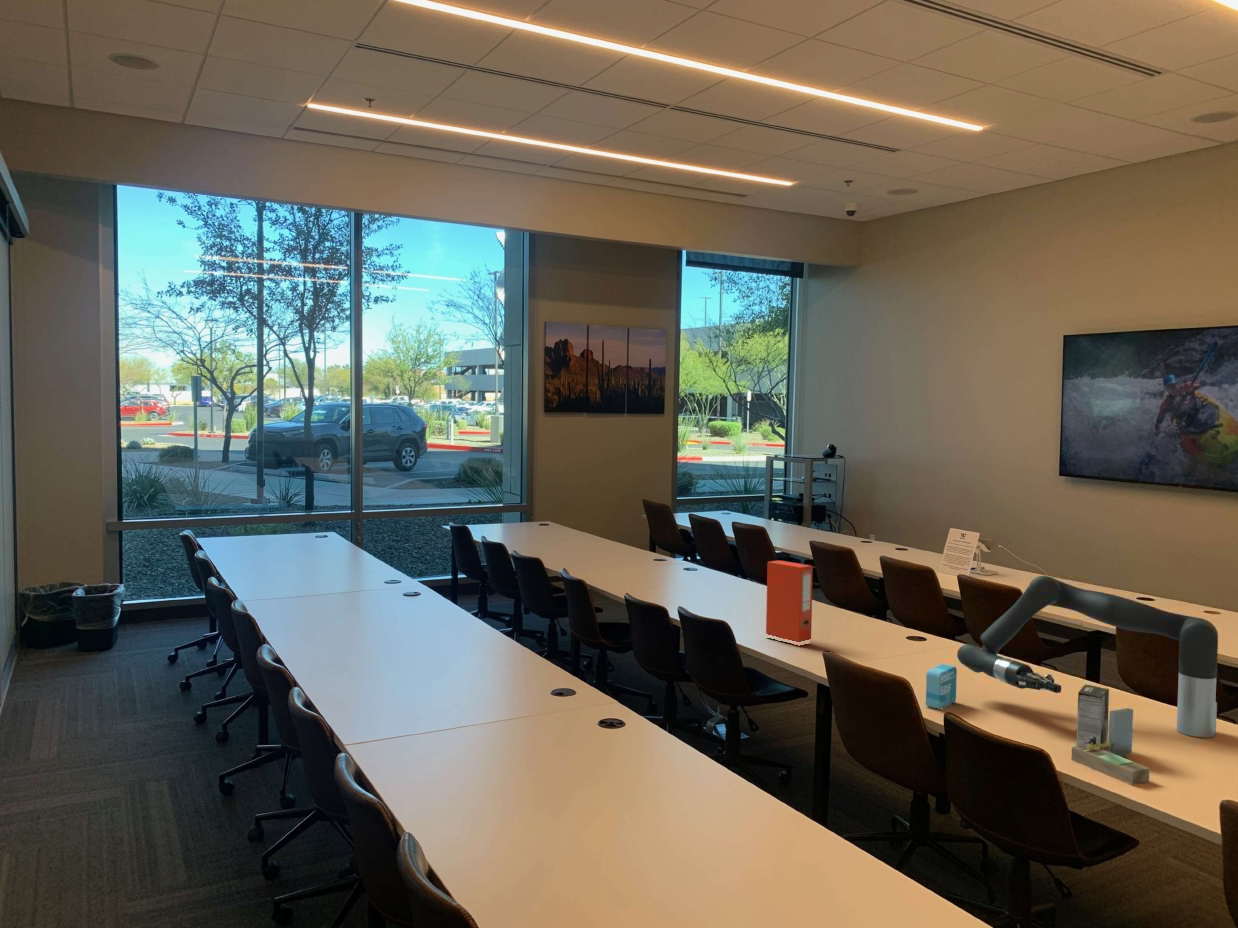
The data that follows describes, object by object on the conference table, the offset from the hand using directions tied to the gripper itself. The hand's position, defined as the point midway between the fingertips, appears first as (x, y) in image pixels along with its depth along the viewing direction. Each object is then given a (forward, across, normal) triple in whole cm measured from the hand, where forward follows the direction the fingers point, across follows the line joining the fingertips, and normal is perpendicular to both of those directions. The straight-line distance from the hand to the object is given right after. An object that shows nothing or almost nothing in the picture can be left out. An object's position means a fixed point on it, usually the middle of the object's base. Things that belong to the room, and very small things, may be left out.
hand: (1059, 689), depth 259 cm
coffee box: (+12, 0, +13) cm, 17 cm away
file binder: (-120, -15, +15) cm, 121 cm away
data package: (-32, -14, +14) cm, 38 cm away
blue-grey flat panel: (+20, -4, +12) cm, 24 cm away
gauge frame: (+26, -10, +13) cm, 30 cm away
